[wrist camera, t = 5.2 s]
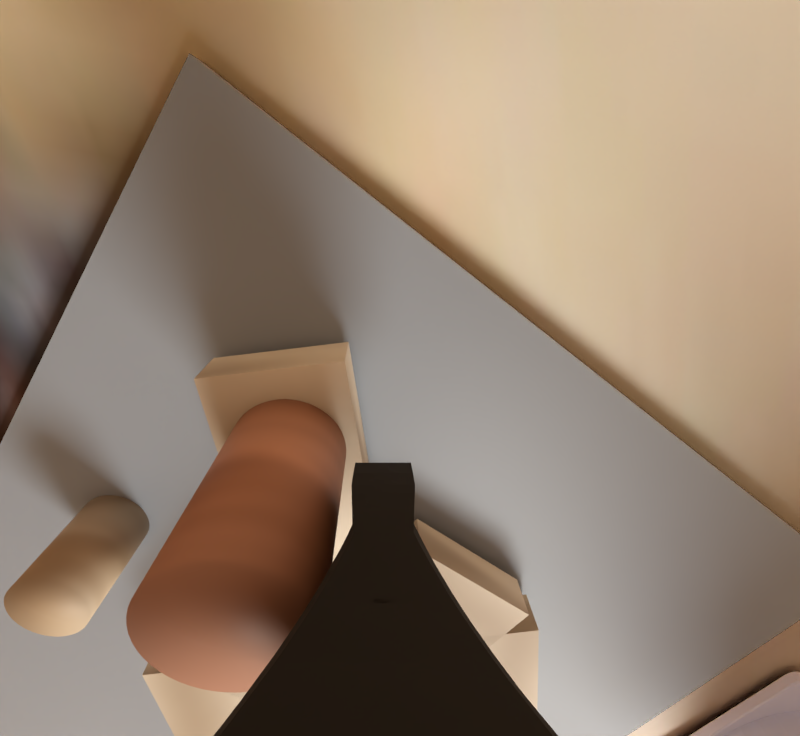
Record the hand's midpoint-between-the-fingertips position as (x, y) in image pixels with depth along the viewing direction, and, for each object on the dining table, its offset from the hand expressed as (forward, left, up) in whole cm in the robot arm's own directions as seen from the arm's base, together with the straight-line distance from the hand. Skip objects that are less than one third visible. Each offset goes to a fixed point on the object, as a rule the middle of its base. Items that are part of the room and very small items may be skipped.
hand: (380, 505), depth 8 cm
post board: (-4, +8, -4) cm, 10 cm away
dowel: (+4, +7, -4) cm, 9 cm away
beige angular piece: (-3, +6, -3) cm, 7 cm away
